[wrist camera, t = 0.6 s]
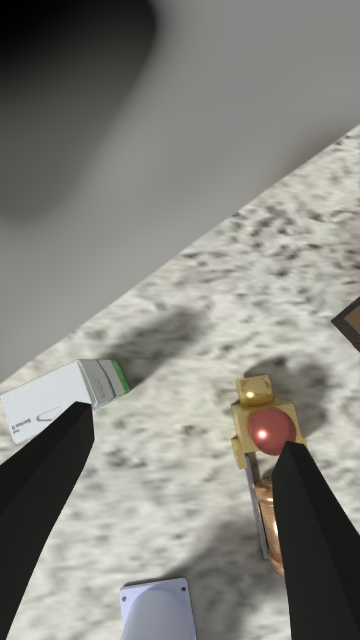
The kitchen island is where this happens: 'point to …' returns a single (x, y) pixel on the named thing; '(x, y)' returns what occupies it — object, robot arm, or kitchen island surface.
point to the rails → (256, 509)
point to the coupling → (269, 523)
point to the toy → (350, 323)
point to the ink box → (61, 394)
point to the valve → (262, 420)
